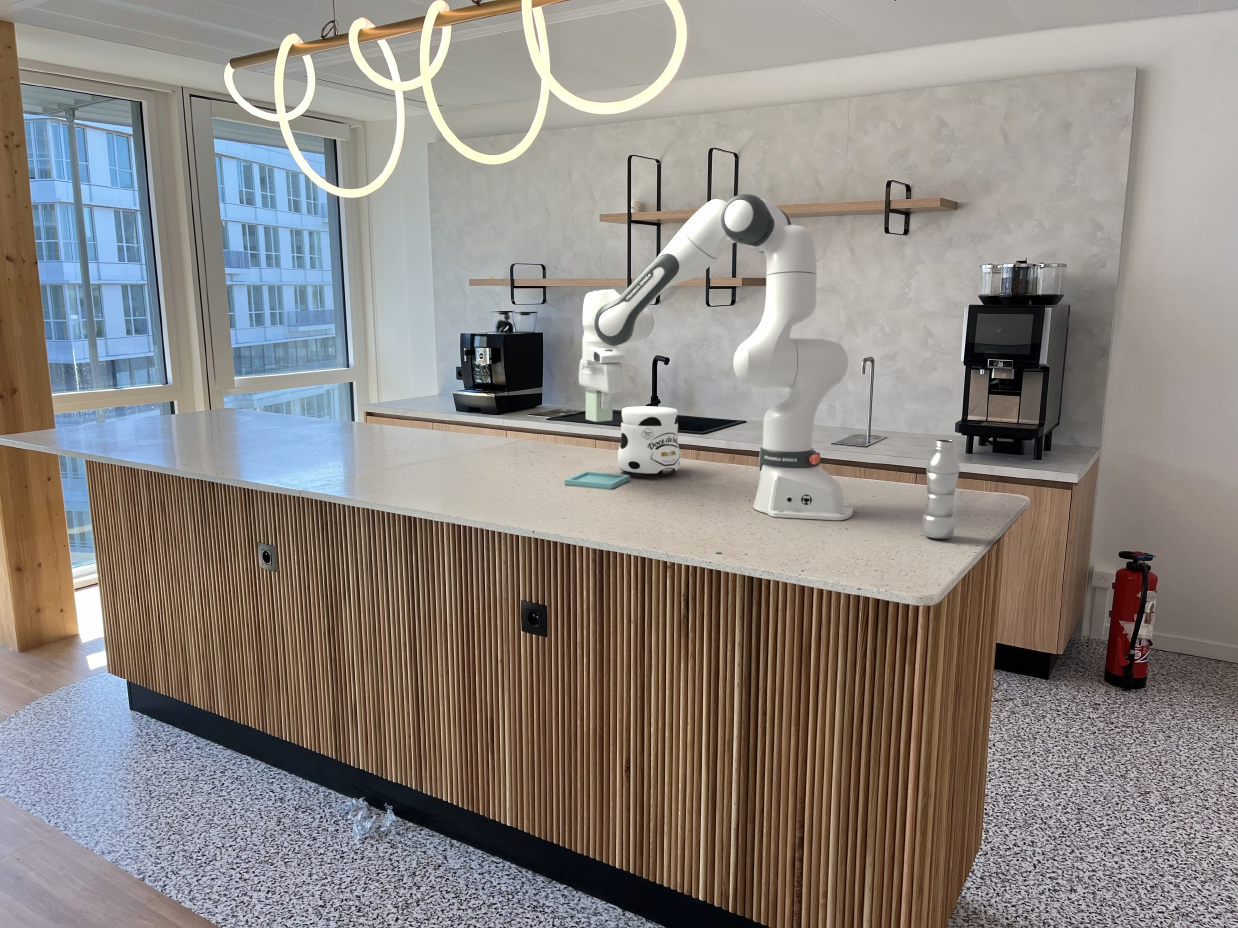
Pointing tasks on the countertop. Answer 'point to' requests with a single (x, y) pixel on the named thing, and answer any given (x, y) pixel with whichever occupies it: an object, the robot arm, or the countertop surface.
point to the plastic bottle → (941, 491)
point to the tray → (597, 480)
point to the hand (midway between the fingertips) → (599, 407)
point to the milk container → (649, 441)
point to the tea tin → (597, 406)
